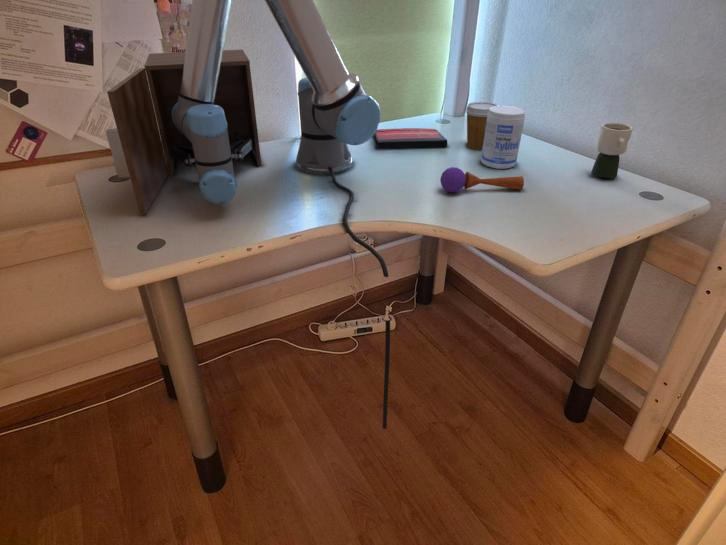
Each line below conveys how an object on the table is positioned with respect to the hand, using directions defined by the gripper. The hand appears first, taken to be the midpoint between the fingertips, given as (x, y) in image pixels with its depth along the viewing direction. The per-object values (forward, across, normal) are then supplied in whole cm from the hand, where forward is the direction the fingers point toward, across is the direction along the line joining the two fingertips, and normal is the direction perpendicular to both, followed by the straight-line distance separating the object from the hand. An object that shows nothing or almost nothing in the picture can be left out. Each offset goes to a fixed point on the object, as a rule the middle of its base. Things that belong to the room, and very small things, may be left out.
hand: (210, 138), depth 133 cm
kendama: (-39, +61, -7) cm, 73 cm away
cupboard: (-9, -4, -7) cm, 12 cm away
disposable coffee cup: (-8, +77, -7) cm, 78 cm away
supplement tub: (-24, +75, -7) cm, 79 cm away
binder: (+3, +59, -7) cm, 59 cm away
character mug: (-40, +96, -7) cm, 105 cm away
